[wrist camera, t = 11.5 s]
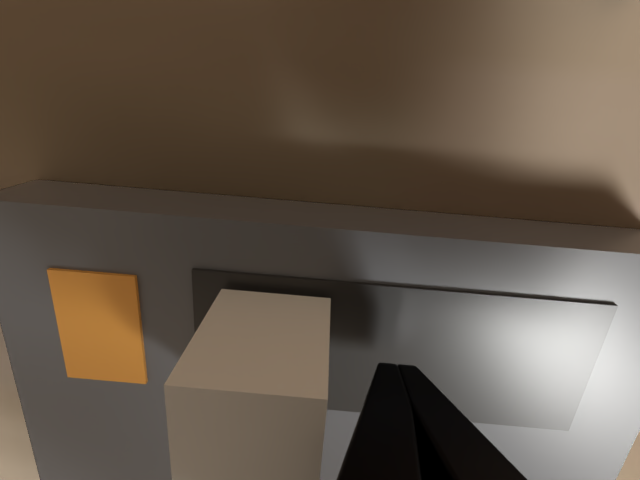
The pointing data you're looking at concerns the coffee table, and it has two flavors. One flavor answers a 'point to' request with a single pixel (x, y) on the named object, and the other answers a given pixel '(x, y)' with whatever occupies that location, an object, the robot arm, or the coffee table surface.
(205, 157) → the coffee table surface
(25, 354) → the switch plate
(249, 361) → the tab
